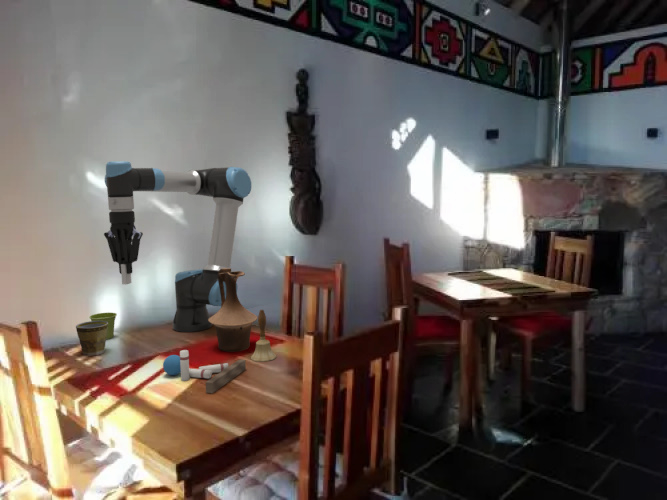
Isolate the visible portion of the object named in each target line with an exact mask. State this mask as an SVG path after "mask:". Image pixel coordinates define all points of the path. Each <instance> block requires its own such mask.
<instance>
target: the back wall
mask: <svg viewBox="0 0 667 500" xmlns="http://www.w3.org/2000/svg"><path fill="white" fill-rule="evenodd" d="M228 366H229V367H227V368H226V369H224V370H223V371H221V372H218V373H217V374H215V375H214V376H211V378H210V379H207V380H206V381H205V394H214V393H215V392H217V391H218V390H220V388H222V387H223V386H225V385H226V384H227V383H229V382H230V381H232V380H233V379H235V378H236V377H238V375H241V373H243V372H244V371H246V369H247V368H246V367H247V366H246V359H240V358H239V359H238V360H237V361H235V362H233V363H232V364H230V365H228Z"/></svg>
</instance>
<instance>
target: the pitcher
mask: <svg viewBox="0 0 667 500" xmlns="http://www.w3.org/2000/svg"><path fill="white" fill-rule="evenodd" d="M231 270H232V267H230V268H222V269H220V270H219V272H218V283H219V288H220V294H221V302H222V303H221V306H220V309H218V311H217V312H215V314H213V315H212V316H210V318H209V319H208V321H209V322H210V323H212V325H213V326H214V328H215V332H216V336H217V342H218V346H217V347H218V349H219V350H220V351H222V352H228V353H229V352H230V353H233V352H234V353H235V352H242V351H245V350H247V349H249V347H250V344H251V343H250V341H251V339H250V338H251V332H252V325H253V323H254V322H256V321H257V320H258V316H257V315H256V314H254V313H253V312H251V311H250V310H248V309H247V308H245V306H243V304H242V303H241V301H240V300H239V296H238V291H237V292H236V283H237V281H238V279H239V277H243V276H245V272H244V271H240V270H237V271H233V272H231ZM223 281H224V282H225V285H226V299H225V293H224V285H223Z"/></svg>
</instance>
